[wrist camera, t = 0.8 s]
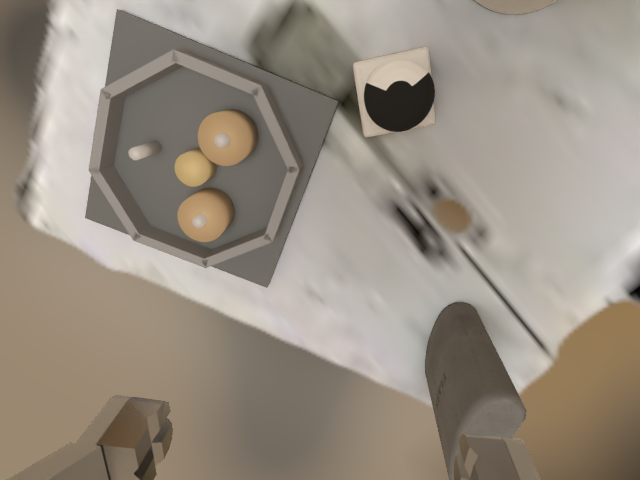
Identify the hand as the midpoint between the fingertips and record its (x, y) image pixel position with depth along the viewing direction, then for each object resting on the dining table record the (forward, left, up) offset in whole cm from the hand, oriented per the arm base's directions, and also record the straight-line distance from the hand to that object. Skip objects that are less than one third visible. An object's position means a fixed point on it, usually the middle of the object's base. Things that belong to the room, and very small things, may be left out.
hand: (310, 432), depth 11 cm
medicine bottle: (-9, +1, -40) cm, 41 cm away
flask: (+19, +23, -40) cm, 50 cm away
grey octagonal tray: (+7, -17, -40) cm, 44 cm away
